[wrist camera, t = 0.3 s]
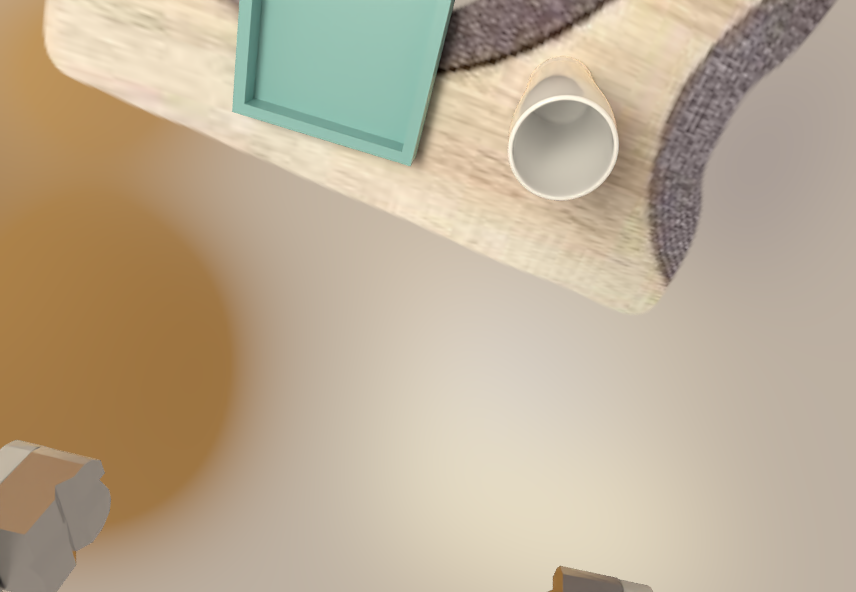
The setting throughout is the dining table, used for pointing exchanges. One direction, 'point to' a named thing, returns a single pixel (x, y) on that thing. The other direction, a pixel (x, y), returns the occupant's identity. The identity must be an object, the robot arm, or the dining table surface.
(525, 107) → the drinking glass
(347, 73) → the tray
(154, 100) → the dining table surface
